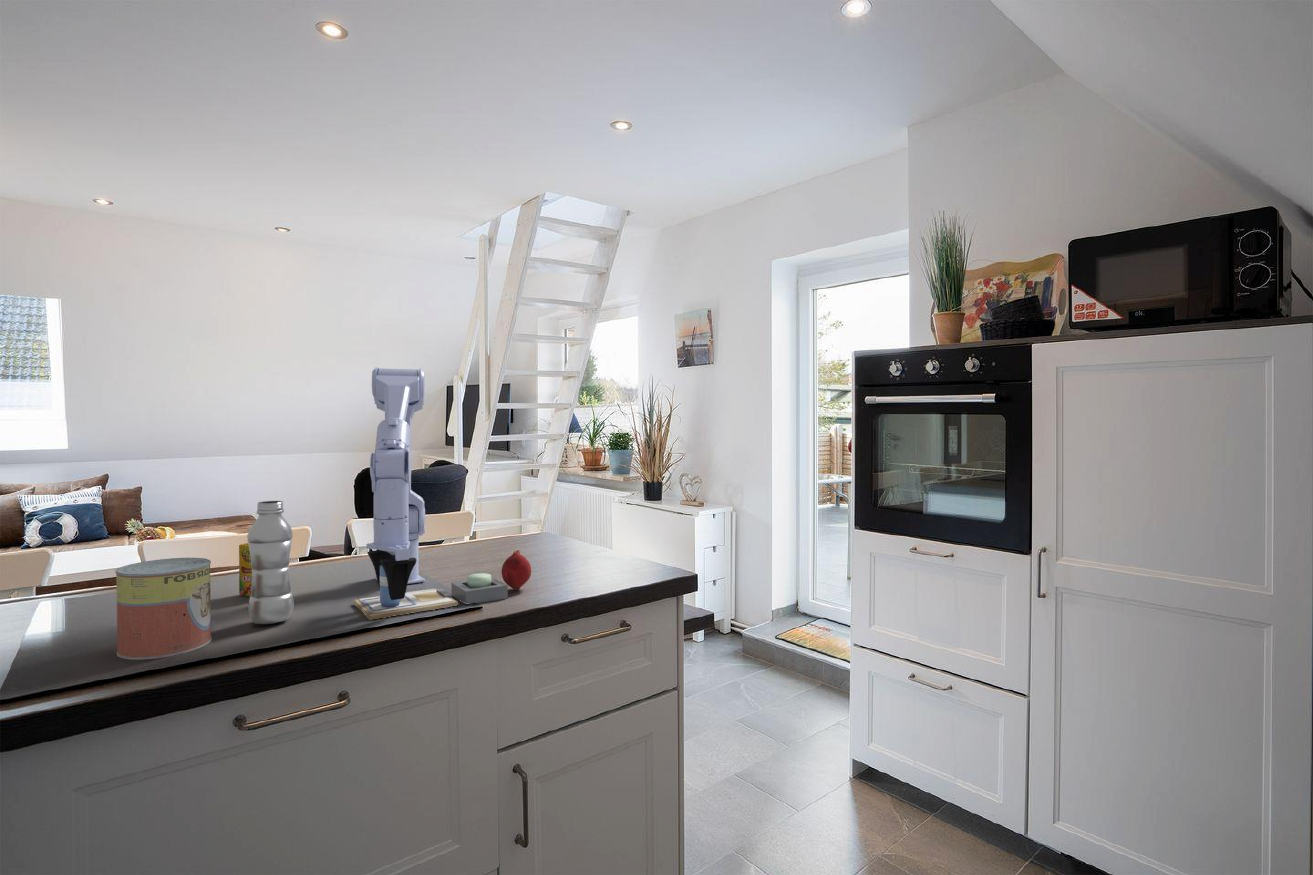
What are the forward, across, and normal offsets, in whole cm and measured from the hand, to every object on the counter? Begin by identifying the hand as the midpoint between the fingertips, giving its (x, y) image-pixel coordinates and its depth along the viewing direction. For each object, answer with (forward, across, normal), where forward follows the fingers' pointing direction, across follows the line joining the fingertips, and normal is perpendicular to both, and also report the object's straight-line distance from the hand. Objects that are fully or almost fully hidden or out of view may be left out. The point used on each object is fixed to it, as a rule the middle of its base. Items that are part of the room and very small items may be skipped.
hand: (391, 594), depth 117 cm
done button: (+1, 0, +16) cm, 16 cm away
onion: (+3, -1, +24) cm, 24 cm away
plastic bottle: (+3, -4, -18) cm, 19 cm away
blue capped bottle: (+2, 0, 0) cm, 2 cm away
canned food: (+3, 0, -32) cm, 32 cm away
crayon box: (+3, -24, -18) cm, 30 cm away
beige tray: (+3, -2, +3) cm, 5 cm away
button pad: (+3, 0, +16) cm, 16 cm away
